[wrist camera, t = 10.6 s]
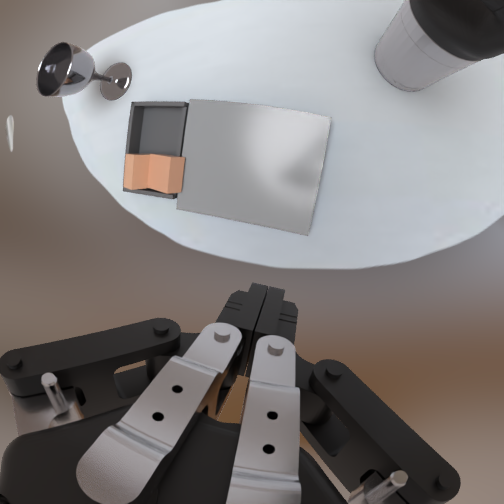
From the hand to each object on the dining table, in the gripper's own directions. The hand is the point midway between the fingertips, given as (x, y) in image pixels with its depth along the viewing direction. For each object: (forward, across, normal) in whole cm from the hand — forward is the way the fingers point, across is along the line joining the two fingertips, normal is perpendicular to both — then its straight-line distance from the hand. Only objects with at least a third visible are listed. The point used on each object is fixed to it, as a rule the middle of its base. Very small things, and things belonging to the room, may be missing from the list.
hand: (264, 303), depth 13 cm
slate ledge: (+29, +7, -4) cm, 30 cm away
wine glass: (+29, +33, -16) cm, 47 cm away
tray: (+29, +22, -4) cm, 36 cm away
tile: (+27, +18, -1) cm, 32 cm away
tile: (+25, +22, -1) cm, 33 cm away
